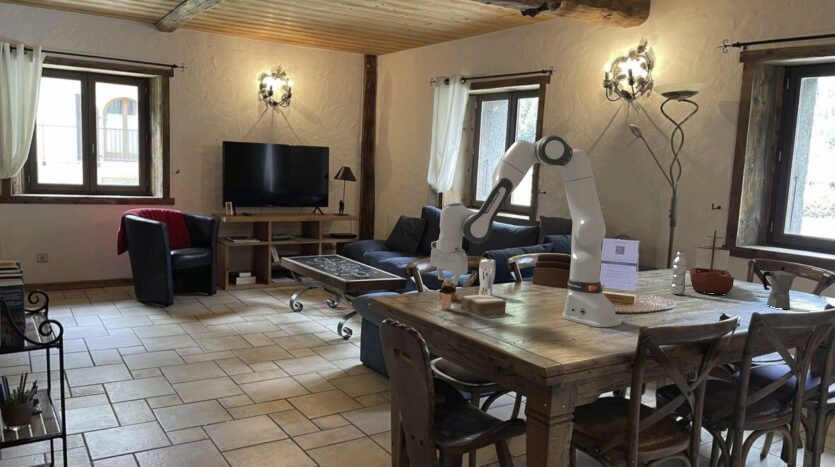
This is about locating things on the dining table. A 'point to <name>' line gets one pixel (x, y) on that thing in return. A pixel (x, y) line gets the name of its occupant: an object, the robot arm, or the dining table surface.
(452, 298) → the ornamental finial
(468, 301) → the plinth
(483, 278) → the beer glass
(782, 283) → the coffeepot
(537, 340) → the dining table surface
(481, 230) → the robot arm
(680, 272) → the plastic bottle
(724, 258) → the sailing ship
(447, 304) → the grandmother figurine
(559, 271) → the letter holder
